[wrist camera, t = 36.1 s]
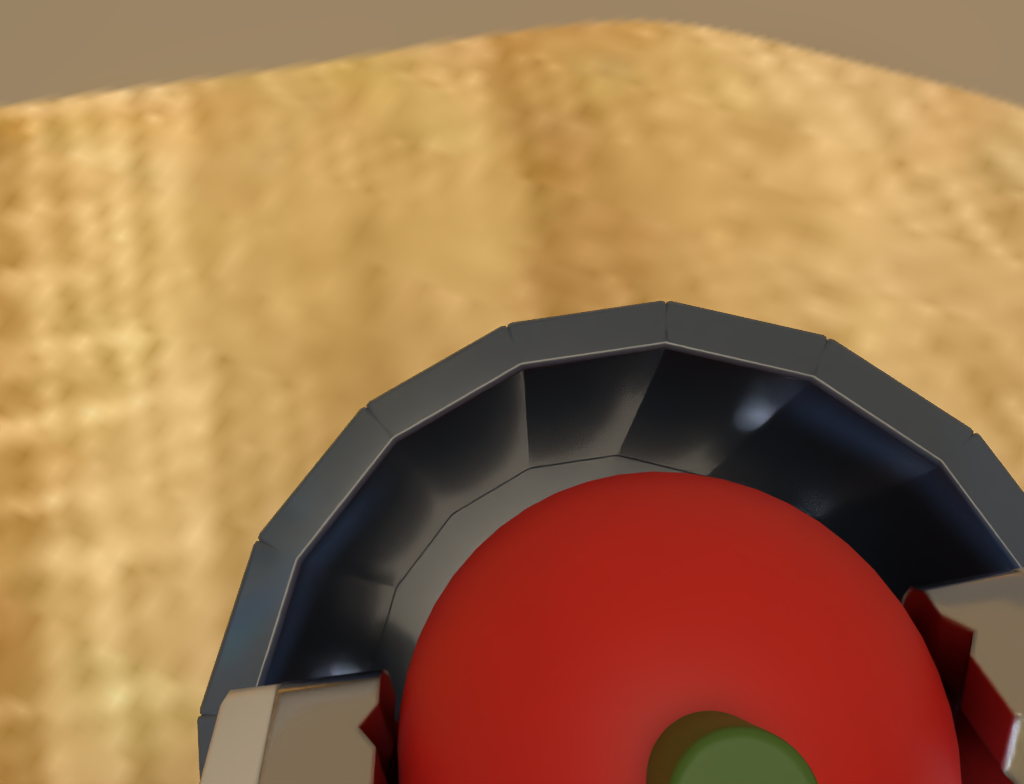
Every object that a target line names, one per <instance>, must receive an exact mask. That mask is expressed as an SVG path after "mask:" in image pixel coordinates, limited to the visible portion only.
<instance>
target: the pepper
mask: <svg viewBox="0 0 1024 784" xmlns="http://www.w3.org/2000/svg"><path fill="white" fill-rule="evenodd" d="M397 755H398V777H399V784H962V782H961V770H960V757H959V746H958V741H957V736H956V731H955V727H954V722H953V717H952V712H951V708H950V705H949V702H948V699H947V696H946V693H945V690H944V687H943V684H942V681H941V678H940V675H939V672H938V669H937V667H936V665H935V663H934V661H933V659H932V657H931V655H930V652H929V650H928V648H927V646H926V644H925V642H924V640H923V637H922V636H921V634H920V632H919V631H918V629H917V628H916V626H915V624H914V623H913V621H912V620H911V618H910V616H909V615H908V613H907V612H906V610H905V608H904V607H903V605H902V604H901V603H900V601H899V600H898V599H897V598H896V596H895V595H894V594H893V593H892V591H891V590H890V589H889V587H888V586H887V585H886V584H885V582H884V581H883V580H882V579H881V577H880V576H879V575H878V574H877V573H876V571H875V570H874V569H873V568H872V567H871V566H870V565H869V564H868V563H867V562H866V561H865V560H864V559H863V558H862V557H861V556H860V555H859V554H858V553H857V552H856V551H855V550H854V549H853V548H852V547H851V546H850V545H849V544H847V543H846V542H845V541H844V540H842V539H841V538H840V537H838V536H837V535H836V534H835V533H833V532H832V531H831V530H829V529H828V528H827V527H826V526H824V525H823V524H822V523H820V522H819V521H817V520H816V519H814V518H812V517H811V516H809V515H807V514H806V513H804V512H802V511H801V510H799V509H797V508H796V507H794V506H792V505H791V504H789V503H787V502H784V501H782V500H780V499H778V498H775V497H773V496H771V495H769V494H766V493H764V492H762V491H760V490H757V489H754V488H751V487H748V486H744V485H741V484H738V483H734V482H731V481H728V480H725V479H719V478H713V477H707V476H701V475H696V474H690V473H677V472H653V471H652V472H641V473H629V474H619V475H614V476H610V477H605V478H601V479H596V480H592V481H587V482H585V483H582V484H579V485H576V486H574V487H571V488H568V489H565V490H563V491H560V492H557V493H555V494H553V495H551V496H549V497H547V498H545V499H543V500H542V501H540V502H538V503H536V504H534V505H532V506H530V507H528V508H526V509H525V510H524V511H522V512H521V513H519V514H518V515H516V516H515V517H514V518H512V519H511V520H509V521H508V522H506V523H505V524H504V525H502V526H501V527H499V528H498V529H497V530H496V531H495V532H494V533H493V534H492V535H491V536H490V537H489V538H487V539H486V540H485V541H484V542H483V543H482V544H481V545H480V546H479V547H478V548H476V549H475V550H474V552H473V553H472V554H471V555H470V556H469V558H468V559H467V560H466V561H465V562H464V563H463V565H462V566H461V567H460V568H459V569H458V571H457V572H456V573H455V574H454V575H453V577H452V578H451V580H450V581H449V583H448V584H447V586H446V588H445V589H444V591H443V592H442V594H441V595H440V597H439V598H438V600H437V601H436V603H435V605H434V606H433V609H432V611H431V613H430V615H429V617H428V619H427V621H426V623H425V625H424V627H423V629H422V631H421V634H420V636H419V638H418V641H417V644H416V647H415V650H414V653H413V656H412V659H411V662H410V665H409V668H408V671H407V675H406V680H405V685H404V690H403V695H402V700H401V705H400V714H399V727H398V740H397Z"/></svg>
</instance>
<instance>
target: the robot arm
mask: <svg viewBox="0 0 1024 784" xmlns="http://www.w3.org/2000/svg"><path fill="white" fill-rule="evenodd" d="M902 605H903V607H904V608H905V610H906V612H907V613H908V615H909V616H910V618H911V620H912V621H913V623H914V624H915V626H916V628H917V629H918V631H919V632H920V634H921V636H922V637H923V640H924V642H925V644H926V646H927V648H928V650H929V652H930V655H931V657H932V659H933V661H934V663H935V665H936V667H937V669H938V672H939V675H940V678H941V681H942V684H943V687H944V690H945V693H946V696H947V699H948V702H949V705H950V708H951V712H952V717H953V722H954V727H955V731H956V736H957V741H958V746H959V757H960V770H961V782H962V784H1024V568H1018V569H1013V570H1011V571H1007V570H1004V571H998V572H992V573H986V574H980V575H974V576H968V577H962V578H956V579H950V580H944V581H938V582H932V583H926V584H920V585H914V586H910V587H909V588H908V590H907V591H906V593H905V594H904V596H903V598H902ZM395 698H396V694H395V691H394V688H393V685H392V682H391V679H390V676H389V673H388V671H386V670H384V669H381V670H373V671H366V672H358V673H350V674H343V675H335V676H327V677H319V678H312V679H304V680H296V681H289V682H282V683H281V684H273V685H265V686H258V687H250V688H242V689H235V690H230V691H229V693H228V694H227V696H226V697H225V699H224V700H223V702H222V704H221V705H220V708H219V712H218V716H217V720H216V723H215V727H214V731H213V735H212V738H211V742H210V746H209V750H208V754H207V757H206V761H205V765H204V769H203V772H202V776H201V780H200V784H399V777H398V755H397V740H398V727H399V722H397V721H396V720H395Z"/></svg>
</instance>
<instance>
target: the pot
mask: <svg viewBox="0 0 1024 784" xmlns="http://www.w3.org/2000/svg"><path fill="white" fill-rule="evenodd" d="M366 407H367V408H365V407H363V408H362V409H360V410H359V411H358V412H357V414H356V415H355V416H354V417H353V419H352V420H351V421H350V422H349V424H348V425H347V426H346V427H345V428H344V430H343V431H342V432H341V433H340V435H339V436H338V437H337V438H336V440H335V441H334V442H333V443H332V445H331V446H330V447H329V448H328V450H327V451H326V452H325V453H324V454H323V456H322V457H321V458H320V459H319V461H318V462H317V463H316V464H315V466H314V467H313V468H312V469H311V471H310V472H309V473H308V474H307V475H306V477H305V478H304V479H303V480H302V482H301V483H300V484H299V485H298V487H297V488H296V489H295V490H294V492H293V493H292V494H291V495H290V496H289V498H288V499H287V500H286V501H285V503H284V504H283V505H282V506H281V508H280V509H279V510H278V511H277V513H276V514H275V515H274V516H273V517H272V519H271V520H270V521H269V522H268V524H267V525H266V526H265V527H264V529H263V530H262V531H261V532H260V534H259V537H258V539H259V541H256V542H255V544H254V545H253V548H252V551H251V554H250V557H249V560H248V563H247V566H246V569H245V572H244V575H243V578H242V581H241V584H240V588H239V591H238V594H237V597H236V600H235V603H234V606H233V609H232V612H231V615H230V618H229V621H228V624H227V627H226V630H225V633H224V637H223V640H222V643H221V646H220V649H219V652H218V655H217V658H216V661H215V664H214V667H213V670H212V673H211V676H210V679H209V682H208V686H207V689H206V692H205V695H204V698H203V701H202V704H201V707H200V714H201V716H199V717H198V720H197V725H198V747H199V770H200V780H201V776H202V772H203V769H204V765H205V761H206V757H207V754H208V750H209V746H210V742H211V738H212V735H213V731H214V727H215V723H216V720H217V716H218V712H219V708H220V705H221V704H222V702H223V700H224V699H225V697H226V696H227V694H228V693H229V691H230V690H235V689H242V688H250V687H258V686H265V685H273V684H281V683H282V682H289V681H296V680H304V679H312V678H319V677H327V676H335V675H343V674H350V673H358V672H366V671H373V670H381V669H384V670H386V671H388V673H389V676H390V679H391V682H392V685H393V688H394V691H395V694H396V698H395V720H396V721H397V722H399V714H400V705H401V700H402V695H403V690H404V685H405V680H406V675H407V671H408V668H409V665H410V662H411V659H412V656H413V653H414V650H415V647H416V644H417V641H418V638H419V636H420V634H421V631H422V629H423V627H424V625H425V623H426V621H427V619H428V617H429V615H430V613H431V611H432V609H433V606H434V605H435V603H436V601H437V600H438V598H439V597H440V595H441V594H442V592H443V591H444V589H445V588H446V586H447V584H448V583H449V581H450V580H451V578H452V577H453V575H454V574H455V573H456V572H457V571H458V569H459V568H460V567H461V566H462V565H463V563H464V562H465V561H466V560H467V559H468V558H469V556H470V555H471V554H472V553H473V552H474V550H475V549H476V548H478V547H479V546H480V545H481V544H482V543H483V542H484V541H485V540H486V539H487V538H489V537H490V536H491V535H492V534H493V533H494V532H495V531H496V530H497V529H498V528H499V527H501V526H502V525H504V524H505V523H506V522H508V521H509V520H511V519H512V518H514V517H515V516H516V515H518V514H519V513H521V512H522V511H524V510H525V509H526V508H528V507H530V506H532V505H534V504H536V503H538V502H540V501H542V500H543V499H545V498H547V497H549V496H551V495H553V494H555V493H557V492H560V491H563V490H565V489H568V488H571V487H574V486H576V485H579V484H582V483H585V482H587V481H592V480H596V479H601V478H605V477H610V476H614V475H619V474H629V473H641V472H652V471H653V472H677V473H690V474H696V475H701V476H707V477H713V478H719V479H725V480H728V481H731V482H734V483H738V484H741V485H744V486H748V487H751V488H754V489H757V490H760V491H762V492H764V493H766V494H769V495H771V496H773V497H775V498H778V499H780V500H782V501H784V502H787V503H789V504H791V505H792V506H794V507H796V508H797V509H799V510H801V511H802V512H804V513H806V514H807V515H809V516H811V517H812V518H814V519H816V520H817V521H819V522H820V523H822V524H823V525H824V526H826V527H827V528H828V529H829V530H831V531H832V532H833V533H835V534H836V535H837V536H838V537H840V538H841V539H842V540H844V541H845V542H846V543H847V544H849V545H850V546H851V547H852V548H853V549H854V550H855V551H856V552H857V553H858V554H859V555H860V556H861V557H862V558H863V559H864V560H865V561H866V562H867V563H868V564H869V565H870V566H871V567H872V568H873V569H874V570H875V571H876V573H877V574H878V575H879V576H880V577H881V579H882V580H883V581H884V582H885V584H886V585H887V586H888V587H889V589H890V590H891V591H892V593H893V594H894V595H895V596H896V598H897V599H898V600H899V601H900V603H901V604H902V598H903V596H904V594H905V593H906V591H907V590H908V588H909V587H910V586H914V585H920V584H926V583H932V582H938V581H944V580H950V579H956V578H962V577H968V576H974V575H980V574H986V573H992V572H998V571H1004V570H1007V571H1011V570H1013V569H1018V568H1024V492H1023V491H1022V490H1021V488H1020V487H1019V486H1018V484H1017V483H1016V482H1015V480H1014V479H1013V478H1012V477H1011V475H1010V474H1009V473H1008V471H1007V470H1006V469H1005V467H1004V466H1003V465H1002V463H1001V462H1000V461H999V460H998V458H997V457H996V456H995V454H994V453H993V452H992V450H991V449H990V448H989V446H988V445H987V444H986V443H985V441H984V440H983V439H982V437H981V436H980V435H979V434H978V433H974V434H973V430H972V429H971V428H969V427H968V426H966V425H965V424H963V423H962V422H960V421H959V420H957V419H956V418H954V417H952V416H951V415H949V414H948V413H946V412H945V411H943V410H942V409H940V408H939V407H937V406H935V405H934V404H932V403H931V402H929V401H928V400H926V399H925V398H923V397H922V396H920V395H918V394H917V393H915V392H914V391H912V390H911V389H909V388H908V387H906V386H904V385H903V384H901V383H900V382H898V381H897V380H895V379H894V378H892V377H891V376H889V375H887V374H886V373H884V372H883V371H881V370H880V369H878V368H877V367H875V366H874V365H872V364H870V363H869V362H867V361H866V360H864V359H863V358H861V357H860V356H858V355H857V354H855V353H853V352H852V351H850V350H849V349H847V348H846V347H844V346H843V345H841V344H839V343H838V342H836V341H835V340H833V339H826V337H825V336H824V335H820V334H816V333H811V332H807V331H802V330H798V329H793V328H789V327H784V326H780V325H775V324H771V323H767V322H762V321H758V320H753V319H749V318H744V317H740V316H735V315H731V314H726V313H722V312H717V311H713V310H708V309H704V308H700V307H695V306H691V305H686V304H682V303H677V302H673V301H669V302H667V303H665V302H664V301H656V302H649V303H642V304H635V305H628V306H621V307H615V308H608V309H601V310H594V311H587V312H581V313H574V314H567V315H560V316H553V317H547V318H540V319H533V320H526V321H519V322H512V323H510V324H508V326H507V327H506V326H501V327H499V328H497V329H495V330H494V331H492V332H490V333H488V334H487V335H485V336H483V337H481V338H480V339H478V340H476V341H474V342H473V343H471V344H469V345H467V346H466V347H464V348H462V349H460V350H459V351H457V352H455V353H453V354H452V355H450V356H448V357H446V358H445V359H443V360H441V361H439V362H438V363H436V364H434V365H432V366H431V367H429V368H427V369H425V370H424V371H422V372H420V373H418V374H417V375H415V376H413V377H411V378H410V379H408V380H406V381H404V382H403V383H401V384H399V385H397V386H396V387H394V388H392V389H390V390H389V391H387V392H385V393H383V394H382V395H380V396H378V397H376V398H375V399H373V400H371V401H369V403H368V404H367V405H366Z"/></svg>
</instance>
